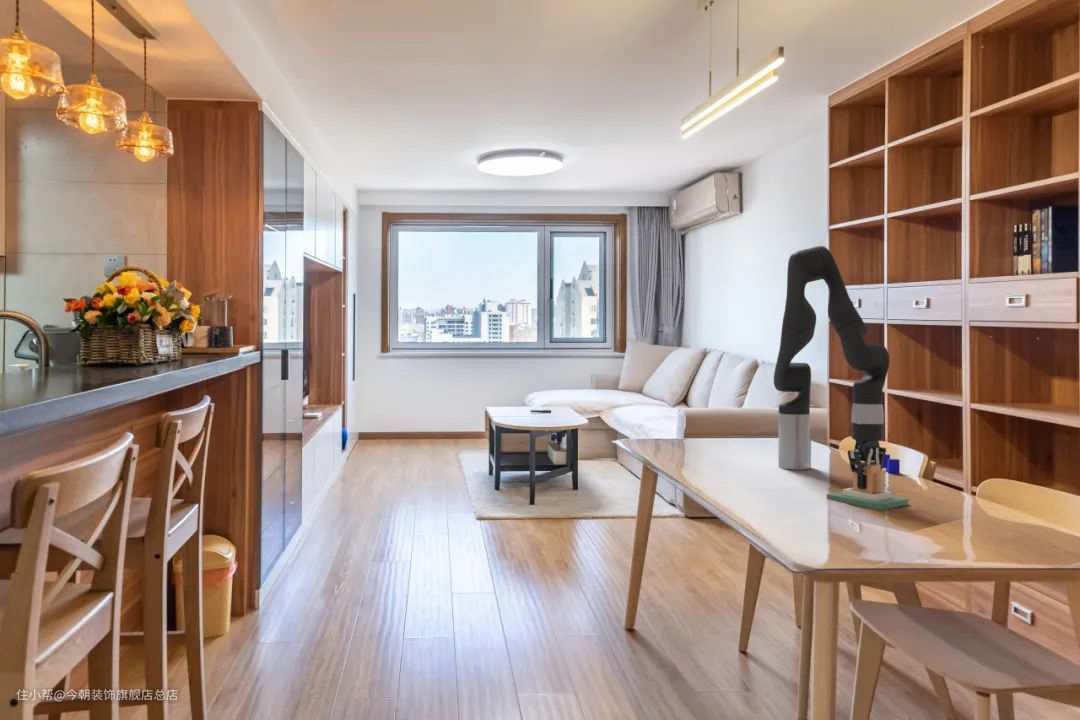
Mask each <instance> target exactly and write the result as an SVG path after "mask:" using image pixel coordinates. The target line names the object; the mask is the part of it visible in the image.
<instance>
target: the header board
mask: <svg viewBox="0 0 1080 720" xmlns="http://www.w3.org/2000/svg"><path fill="white" fill-rule="evenodd" d="M826 499H828V500H831V501H836V502H840V503H844V504H848V505H850V504H852V506H855V505H857V506H856V507H860V506H861V508H866V509H872V510H877V511H885V510H891V508H892V509H895V508H894V507H896V508H899V507H898V506H901V507H903V506H902V505H905V504H908V505H909V498H905V497H901V496H900V497H899V496H893V495H892V491H887V490H881V493H879V494H875V493H873V494H870V493H865V492H859V491H853V487H848V488H843V489H842V491H837V492H831V493H827V494H826ZM905 506H906V505H905Z"/></svg>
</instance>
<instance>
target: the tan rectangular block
mask: <svg viewBox="0 0 1080 720" xmlns="http://www.w3.org/2000/svg"><path fill="white" fill-rule="evenodd" d="M855 468H856V465H855ZM862 468H863V465H862ZM881 472H882V470H881V465H878V464H877V465H876V464H870V466H867V474H866V475H867V487H866V489H865V490H862V489H858V488H857V474H856V473H855V472H852V477H853V478H852V483H853V485H852V486H853V487H852V488H853V491H859V492H865V493H870V494H873V493H875V494H879V493H881V489H882V487H881V486H882V483H881V482H882V473H881Z"/></svg>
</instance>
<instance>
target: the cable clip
mask: <svg viewBox="0 0 1080 720" xmlns="http://www.w3.org/2000/svg"><path fill="white" fill-rule="evenodd" d="M900 461H901V460H900V459H899V458H891V455H890V454H888V453H885V458H884V463H883V468H882V469H885V472H886V473H888V474H889V473H890V474H895V475H900V465H901V464H900ZM878 465H879V464H878Z"/></svg>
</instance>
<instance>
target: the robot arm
mask: <svg viewBox="0 0 1080 720" xmlns="http://www.w3.org/2000/svg"><path fill="white" fill-rule="evenodd" d="M840 272H841V271H840V270H839V268H838V265H837V262H836V261H835V258H834V256H833V254H832V253H831V251H830V250H829V249H828V248H827V247H825V245H824V246H823V245H817V246H813V247H809V248H804V249H801V250H796V251H794V252H793V253H792V254H790V257H789V258H788V262H787V278H786V281H787V282H786V299H785V305H784V313H783V316H782V317H783V318H782V325H781V335H780V344H779V351H778V353H777V359H776V362H775V369H774V371H773V372H774V373H773V385H774V388H775V390H777V391H778V392H783V393H797V396H796V397H794V398H793V399H791V400H788V401H785V402H782V403H779V405H778V451H777V452H778V461H777V462H778V465H777V466H778V468H780V469H786V470H793V471H795V470H796V471H798V470H799V471H803V470H809V469H811V467H812V438H811V437H810V431H811V430H810V429H811V427H810V425H811V424H810V421H811V420H810V412H811V411H810V407H811V385H812V370H811V366H810V365H809V363H806V362H792V361H793V359H794V358H795V357H796V356H797V355H798V354H799V352H801V351H802V350H803V349H804V348H806V346H808V344H809V343H810V342H811V341H812V339H813V338H814V334H815V330H816V323H817V314H816V312H815V310H814V308H813V306H812V305H811V303H810V302H809V300H807V298H806V294H805V290H806V286H807V284H808V283H812V282H815V281H820V280H823V281H824V282H825V284H826V285H827V288H828V292H829V297H828V302H827V303H828V304H827V315H828V319H829V322H830V324H831V325H832V327H833V330H834V331H835V333H836V334H837V336H838V337H839V339H840V344H841V348H842V351H843V356H844V359H845V361H846V362H847V365H849V366H850V368H852V369H854V371H855V370H856V371H859V372H860V371H861V372H863V373H862V377H861V379H859V380H857V381H855V382H854V383H853V384H852V407H851V418H850V419H851V425H850V426H851V428H850V429H851V432H850V433H851V434H850V435H851V439H852V440H854V441H855V443H854V449H853V450H851V449H850V450H847V457H848V460H849V465H850V470H851V473H853V472H855V473H856V474H857V488H858V489H862V490H865V489H866V487H867V475H866V474H867V466H870V464H876V465H877V464H879V465H881V471H882V470H883V469H884V468H883V463H884V458H885V454H887V448H886V447H882V446H880V441H881V442H882V441H883V440H884V434H885V433H884V427H885V426H884V423H885V422H884V421H885V418H884V417H885V416H884V415H885V414H884V413H885V412H884V405H883V403H884V390H883V388H884V385H885V382H886V379H887V376H888V371H889V368H890V361H891V360H890V354H889V352H888V349H887V348H886V347H885V345H883V344H880V343H872V342H871V343H867V342H866V341H865V340H864V337H865V336H866V335H867V333H868V327H867V325H866V323H865V321H864V320H863V318H862V317H861V315H860V314H859V312H858V310H857V309H856V307H855V305H854V304H853V301H852V299H851V298H850V295H849V293H848V290H847V288H846V285H845V281H844V279H843V277H842V274H841V273H840ZM855 465H856V468H855ZM862 465H863V468H862Z"/></svg>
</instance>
